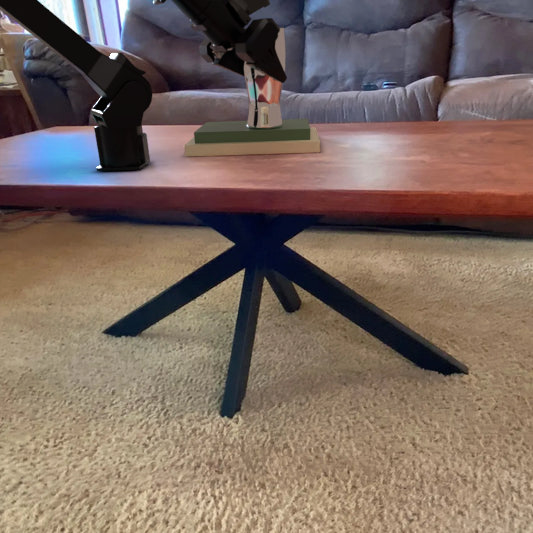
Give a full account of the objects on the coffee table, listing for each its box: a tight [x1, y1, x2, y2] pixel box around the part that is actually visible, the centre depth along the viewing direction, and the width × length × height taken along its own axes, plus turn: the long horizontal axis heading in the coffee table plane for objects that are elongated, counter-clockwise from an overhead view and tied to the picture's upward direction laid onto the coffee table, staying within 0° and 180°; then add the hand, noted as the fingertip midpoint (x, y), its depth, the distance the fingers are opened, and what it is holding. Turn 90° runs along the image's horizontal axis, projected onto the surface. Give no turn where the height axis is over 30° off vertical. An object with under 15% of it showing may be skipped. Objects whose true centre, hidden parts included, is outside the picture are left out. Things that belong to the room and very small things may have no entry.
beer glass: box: [243, 27, 287, 129], centre depth 83 cm, size 7×7×15 cm
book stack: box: [183, 118, 321, 158], centre depth 89 cm, size 22×16×4 cm
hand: (270, 80), depth 84 cm, fingers open, 9 cm apart
